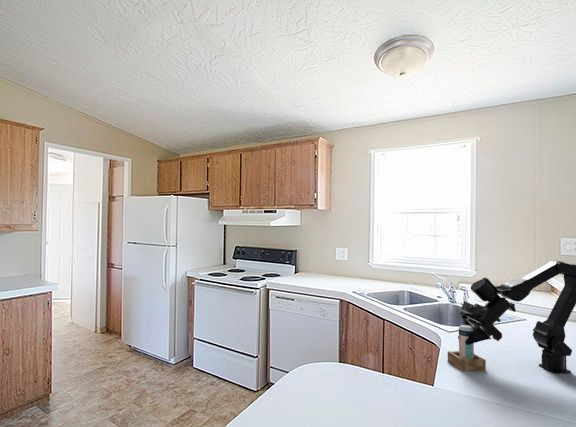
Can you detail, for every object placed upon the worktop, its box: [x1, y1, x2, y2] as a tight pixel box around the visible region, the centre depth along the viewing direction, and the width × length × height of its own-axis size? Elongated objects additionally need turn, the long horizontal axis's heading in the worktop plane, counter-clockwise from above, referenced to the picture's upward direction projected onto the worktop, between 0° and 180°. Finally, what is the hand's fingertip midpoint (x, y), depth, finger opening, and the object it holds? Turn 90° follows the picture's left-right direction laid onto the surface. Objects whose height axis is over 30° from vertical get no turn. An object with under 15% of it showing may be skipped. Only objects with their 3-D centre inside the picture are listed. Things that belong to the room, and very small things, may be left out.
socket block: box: [447, 350, 487, 372], centre depth 113 cm, size 8×8×4 cm
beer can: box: [458, 324, 475, 359], centre depth 114 cm, size 5×5×12 cm
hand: (462, 341), depth 114 cm, fingers closed on beer can, 5 cm apart
